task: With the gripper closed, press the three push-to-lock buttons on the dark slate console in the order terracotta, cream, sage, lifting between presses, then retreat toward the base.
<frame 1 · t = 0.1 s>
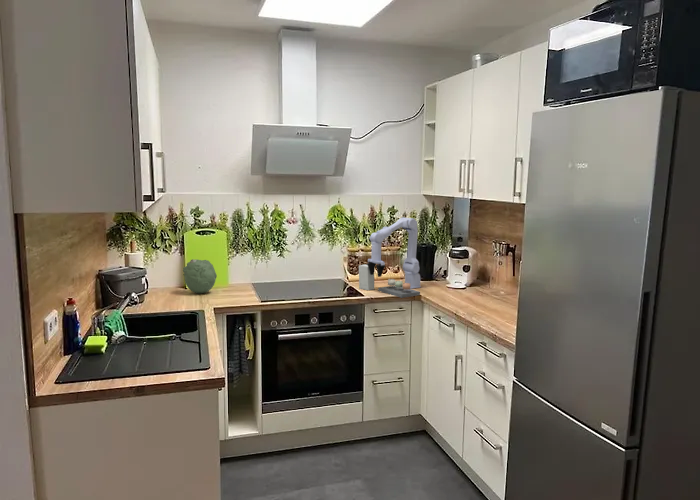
hand: (375, 275, 302), 10 cm above the worktop, fingers open, 7 cm apart
button cream: (391, 282, 307), point 5 cm above the worktop, slide at 0.0 cm
button sage: (398, 284, 301), point 5 cm above the worktop, slide at 0.0 cm
button terracotta: (406, 286, 296), point 5 cm above the worktop, slide at 0.0 cm
console: (398, 292, 302), on the worktop
cabbage: (200, 293, 294), on the worktop
skincare box: (366, 289, 312), on the worktop
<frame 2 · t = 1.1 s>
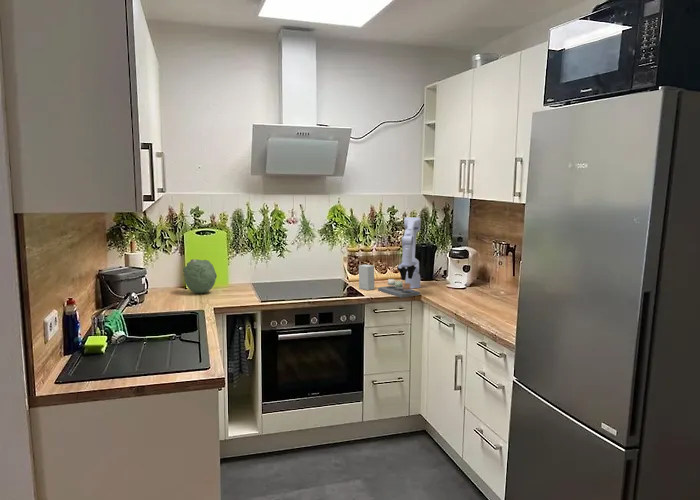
hand: (406, 279, 295), 9 cm above the worktop, fingers open, 6 cm apart
nothing on the worktop moved.
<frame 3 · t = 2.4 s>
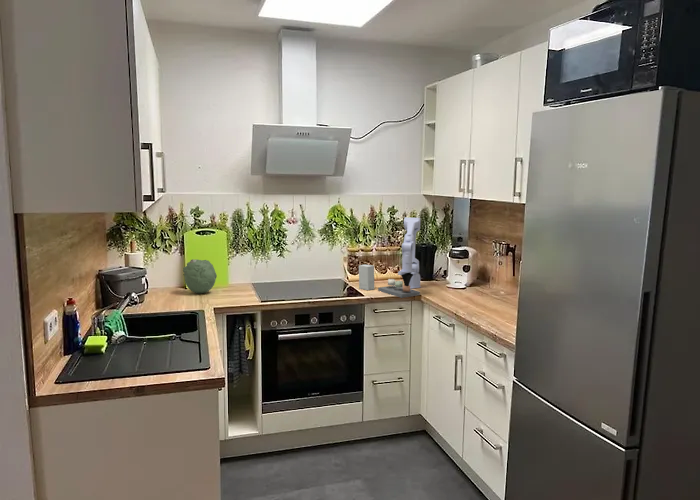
hand: (406, 285, 296), 6 cm above the worktop, fingers closed, pressing on button terracotta
button terracotta: (406, 288, 296), point 4 cm above the worktop, slide at 1.2 cm, touching gripper
everything else where it was.
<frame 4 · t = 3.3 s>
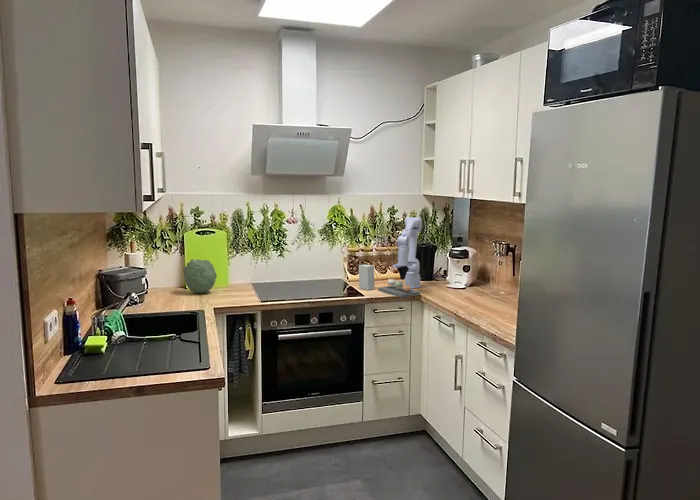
hand: (402, 279, 299), 9 cm above the worktop, fingers closed
button terracotta: (406, 288, 296), point 4 cm above the worktop, slide at 1.2 cm
everything else where it was.
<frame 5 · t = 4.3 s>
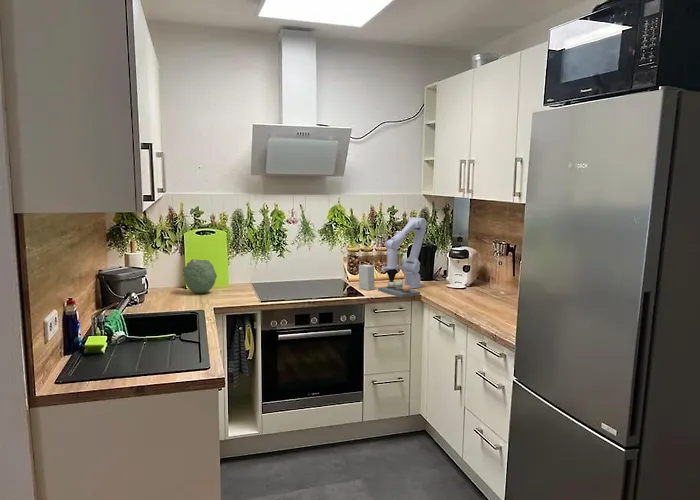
hand: (391, 281, 307), 6 cm above the worktop, fingers closed, pressing on button cream
button cream: (391, 284, 307), point 4 cm above the worktop, slide at 1.2 cm, touching gripper
everything else where it was.
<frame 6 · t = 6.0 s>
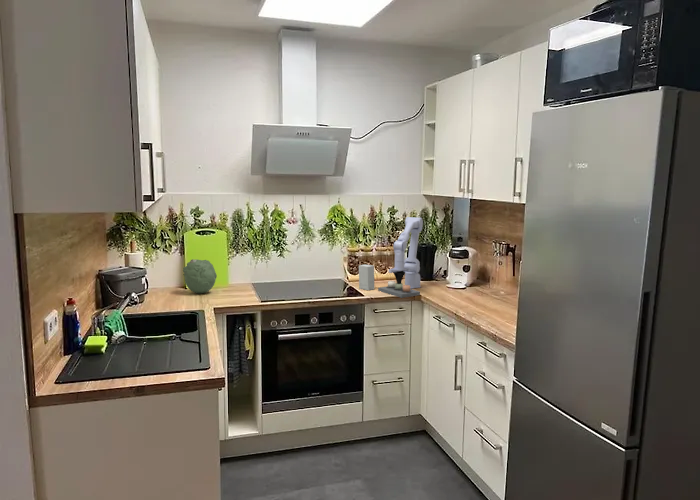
hand: (398, 283, 301), 6 cm above the worktop, fingers closed, pressing on button sage
button cream: (391, 284, 307), point 4 cm above the worktop, slide at 1.2 cm
button sage: (398, 286, 302), point 4 cm above the worktop, slide at 1.2 cm, touching gripper
everything else where it was.
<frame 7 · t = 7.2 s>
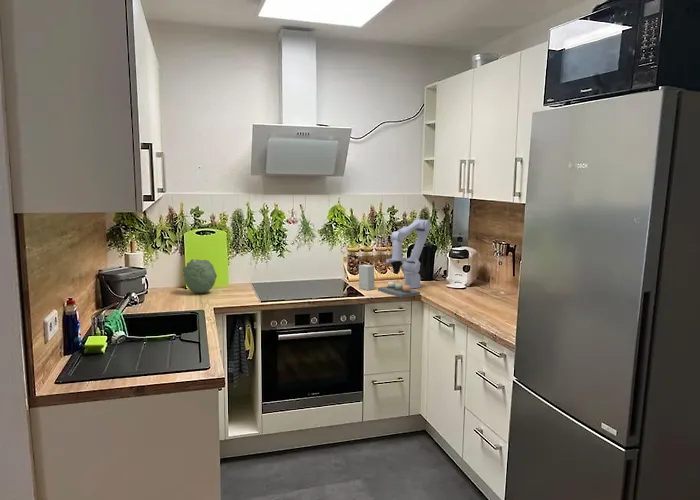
hand: (396, 273, 307), 10 cm above the worktop, fingers closed
button sage: (398, 286, 302), point 4 cm above the worktop, slide at 1.2 cm
everything else where it was.
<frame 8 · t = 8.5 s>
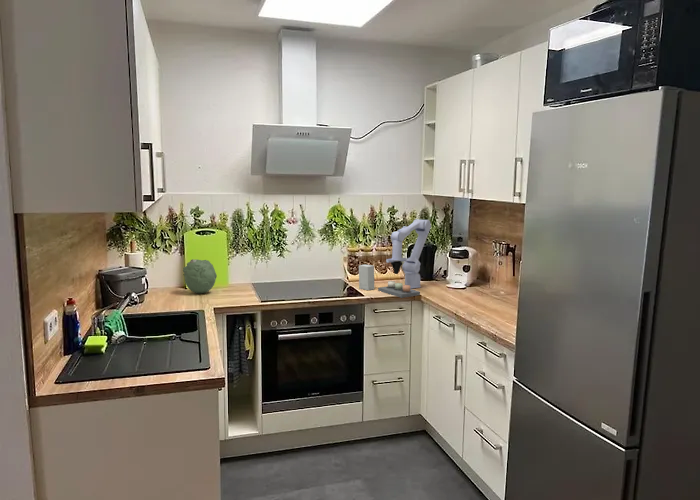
hand: (396, 273, 307), 10 cm above the worktop, fingers closed
nothing on the worktop moved.
at the end: button terracotta slide at 1.2 cm; button cream slide at 1.2 cm; button sage slide at 1.2 cm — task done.
